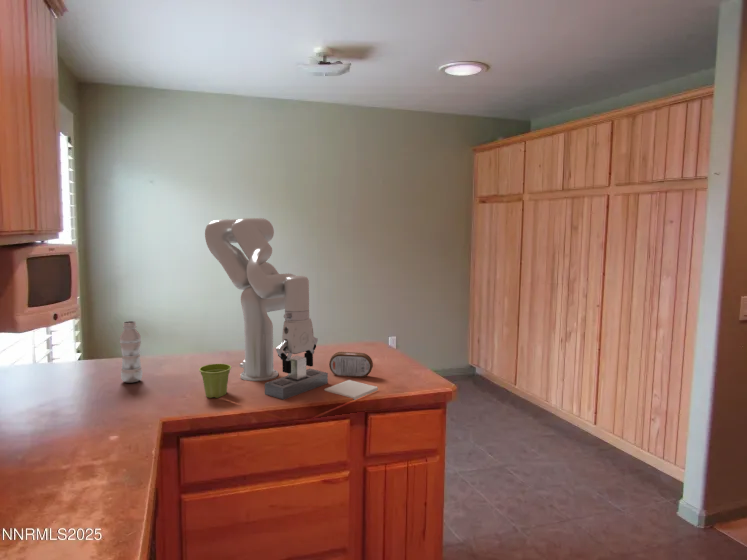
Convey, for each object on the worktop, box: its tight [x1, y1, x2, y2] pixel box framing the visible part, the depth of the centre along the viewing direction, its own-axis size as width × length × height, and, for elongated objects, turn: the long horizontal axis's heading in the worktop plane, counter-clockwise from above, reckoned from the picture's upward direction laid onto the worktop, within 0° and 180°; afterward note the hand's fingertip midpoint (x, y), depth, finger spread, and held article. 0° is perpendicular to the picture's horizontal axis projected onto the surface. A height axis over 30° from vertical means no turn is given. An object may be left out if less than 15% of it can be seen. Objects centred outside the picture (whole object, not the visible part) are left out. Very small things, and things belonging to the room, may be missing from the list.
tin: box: [328, 351, 374, 378], centre depth 185 cm, size 15×3×8 cm, turn 84°
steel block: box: [287, 355, 307, 382], centre depth 170 cm, size 4×4×10 cm
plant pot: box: [198, 363, 232, 399], centre depth 164 cm, size 9×9×9 cm
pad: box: [324, 379, 379, 401], centre depth 170 cm, size 12×12×1 cm
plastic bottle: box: [119, 320, 143, 384], centre depth 175 cm, size 6×7×20 cm
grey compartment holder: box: [264, 368, 329, 401], centre depth 170 cm, size 8×20×4 cm, turn 143°
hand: (298, 369), depth 169 cm, fingers open, 9 cm apart
